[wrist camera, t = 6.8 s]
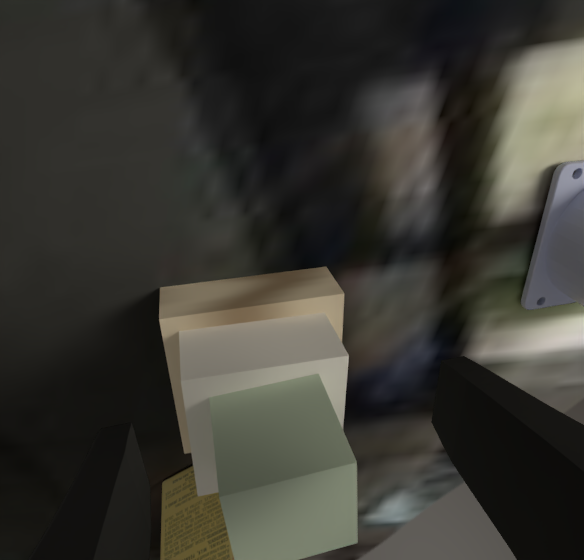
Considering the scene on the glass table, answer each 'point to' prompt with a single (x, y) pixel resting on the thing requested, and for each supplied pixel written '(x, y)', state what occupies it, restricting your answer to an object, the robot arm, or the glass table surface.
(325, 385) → the slab top
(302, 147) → the glass table surface
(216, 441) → the block
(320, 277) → the slab bottom
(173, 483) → the candy box
